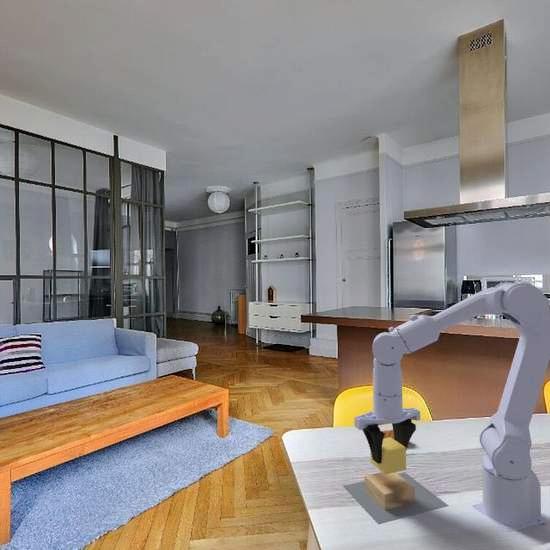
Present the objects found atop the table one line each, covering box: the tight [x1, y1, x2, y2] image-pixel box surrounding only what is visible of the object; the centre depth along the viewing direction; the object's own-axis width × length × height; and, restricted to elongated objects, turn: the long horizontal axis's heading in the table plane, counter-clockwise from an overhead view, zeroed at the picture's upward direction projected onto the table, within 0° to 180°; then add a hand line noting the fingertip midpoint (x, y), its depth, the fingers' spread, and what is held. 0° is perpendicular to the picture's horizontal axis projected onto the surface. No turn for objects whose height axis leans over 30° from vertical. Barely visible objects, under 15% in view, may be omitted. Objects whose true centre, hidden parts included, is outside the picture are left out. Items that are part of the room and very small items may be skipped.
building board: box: [342, 472, 449, 525], centre depth 76 cm, size 16×13×1 cm
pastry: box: [381, 429, 409, 448], centre depth 101 cm, size 9×7×4 cm
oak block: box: [364, 471, 415, 510], centre depth 76 cm, size 7×7×3 cm
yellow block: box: [369, 437, 407, 474], centre depth 76 cm, size 5×5×4 cm
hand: (388, 458), depth 76 cm, fingers closed on yellow block, 5 cm apart
